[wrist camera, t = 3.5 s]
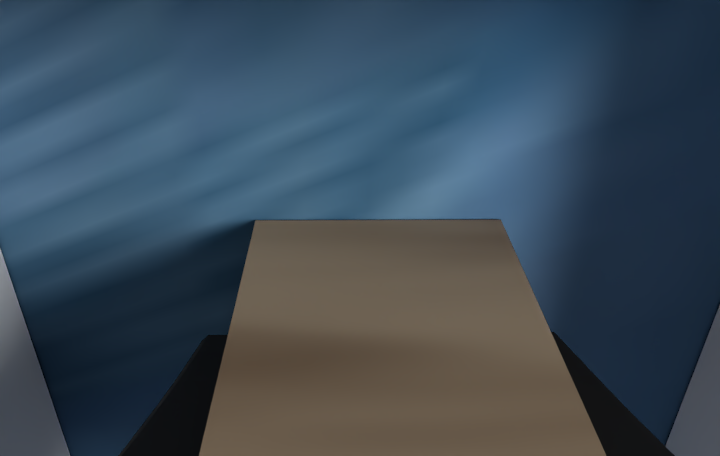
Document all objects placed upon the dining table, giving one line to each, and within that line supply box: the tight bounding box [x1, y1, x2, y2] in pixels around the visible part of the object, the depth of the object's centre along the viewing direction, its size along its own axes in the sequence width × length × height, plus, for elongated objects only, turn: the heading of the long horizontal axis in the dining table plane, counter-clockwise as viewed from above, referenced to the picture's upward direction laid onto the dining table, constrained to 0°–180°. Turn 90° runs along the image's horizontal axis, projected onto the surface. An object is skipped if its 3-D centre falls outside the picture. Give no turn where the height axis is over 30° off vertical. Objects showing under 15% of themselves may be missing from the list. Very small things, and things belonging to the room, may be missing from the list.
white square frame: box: [0, 249, 720, 456], centre depth 10 cm, size 14×14×4 cm
